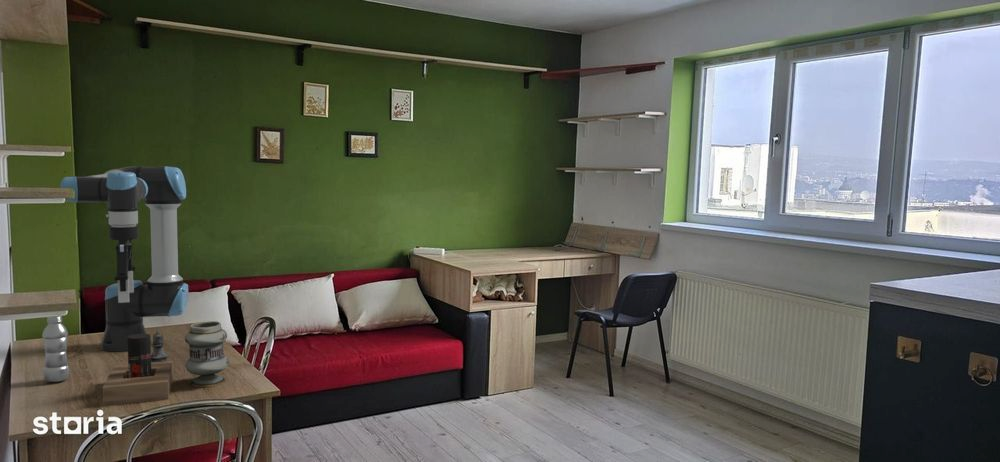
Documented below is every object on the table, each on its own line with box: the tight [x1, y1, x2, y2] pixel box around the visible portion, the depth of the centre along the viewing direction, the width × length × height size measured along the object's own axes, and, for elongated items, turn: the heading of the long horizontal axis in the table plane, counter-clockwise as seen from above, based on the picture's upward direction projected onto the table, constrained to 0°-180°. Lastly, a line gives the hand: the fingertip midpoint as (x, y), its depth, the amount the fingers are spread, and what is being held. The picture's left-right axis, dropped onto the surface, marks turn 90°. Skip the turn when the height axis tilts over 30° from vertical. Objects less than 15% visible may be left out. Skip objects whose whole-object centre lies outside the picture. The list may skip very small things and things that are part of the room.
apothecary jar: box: [184, 320, 230, 388], centre depth 208 cm, size 12×12×18 cm
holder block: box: [102, 360, 174, 406], centre depth 200 cm, size 22×16×5 cm
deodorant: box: [127, 333, 152, 378], centre depth 199 cm, size 6×6×15 cm
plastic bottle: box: [41, 315, 71, 383], centre depth 205 cm, size 6×7×20 cm
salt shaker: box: [151, 330, 169, 363], centre depth 222 cm, size 6×6×12 cm
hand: (126, 297), depth 201 cm, fingers open, 13 cm apart
